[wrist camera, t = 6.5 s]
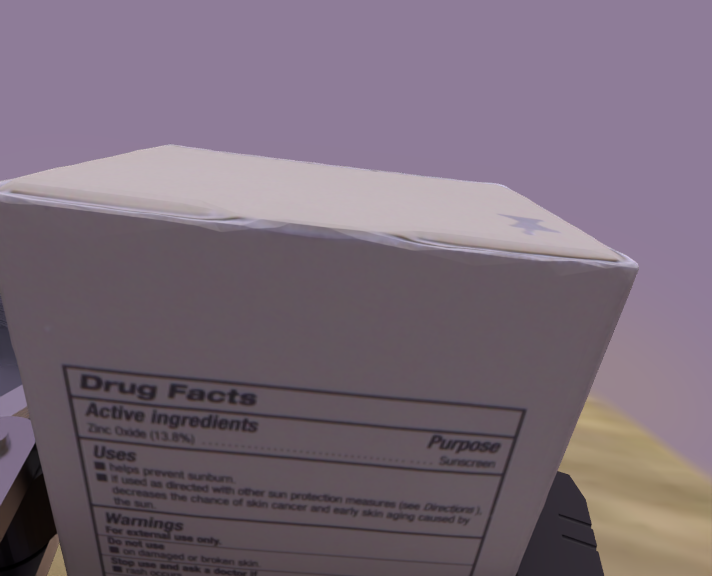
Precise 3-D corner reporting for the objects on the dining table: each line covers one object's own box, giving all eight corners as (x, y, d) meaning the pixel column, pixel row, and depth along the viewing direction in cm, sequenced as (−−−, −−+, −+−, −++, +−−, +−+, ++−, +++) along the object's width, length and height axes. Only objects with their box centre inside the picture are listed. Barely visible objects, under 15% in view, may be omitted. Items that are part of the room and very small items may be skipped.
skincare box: (402, 602, 13) (524, 182, 8) (421, 832, 9) (693, 266, 4) (180, 580, 12) (165, 130, 8) (94, 809, 8) (-52, 162, 4)
